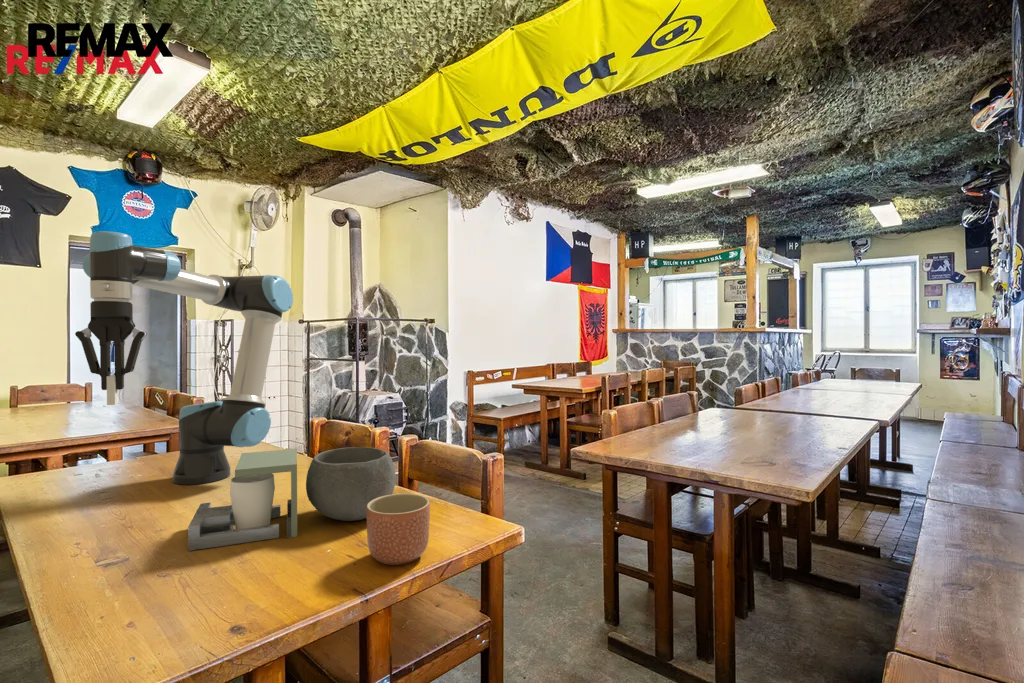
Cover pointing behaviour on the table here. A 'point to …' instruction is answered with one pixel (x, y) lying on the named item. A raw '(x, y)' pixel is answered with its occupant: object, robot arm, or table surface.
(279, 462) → the shelf
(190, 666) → the table surface
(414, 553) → the planter
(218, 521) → the frame
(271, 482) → the cup
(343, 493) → the bowl
